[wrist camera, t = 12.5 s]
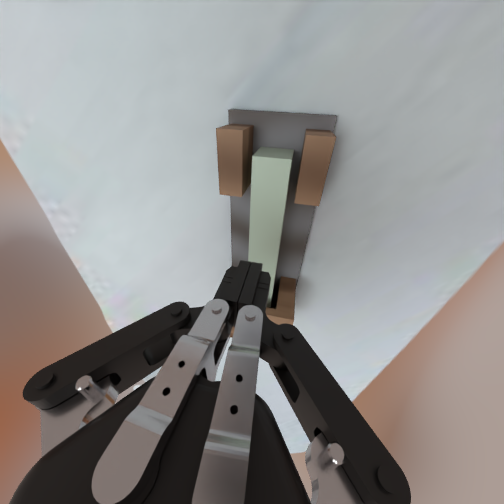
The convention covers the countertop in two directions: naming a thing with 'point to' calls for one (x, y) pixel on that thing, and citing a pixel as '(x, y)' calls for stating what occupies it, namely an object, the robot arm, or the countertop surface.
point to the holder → (299, 191)
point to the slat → (268, 207)
